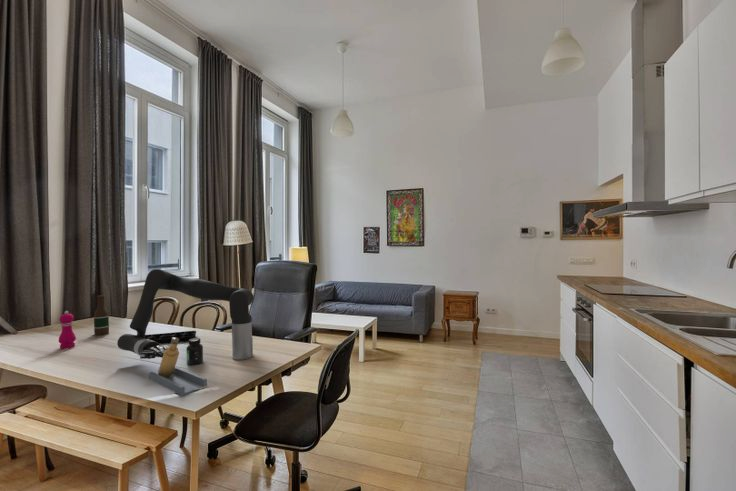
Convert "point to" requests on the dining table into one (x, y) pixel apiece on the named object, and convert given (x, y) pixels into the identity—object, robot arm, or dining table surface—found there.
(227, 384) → the dining table surface
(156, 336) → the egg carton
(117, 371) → the dining table surface
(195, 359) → the supplement bottle
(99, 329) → the beer bottle
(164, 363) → the bottle
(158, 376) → the cradle
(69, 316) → the pepper mill
